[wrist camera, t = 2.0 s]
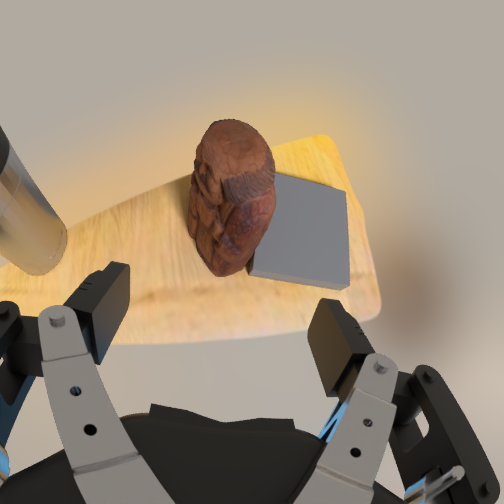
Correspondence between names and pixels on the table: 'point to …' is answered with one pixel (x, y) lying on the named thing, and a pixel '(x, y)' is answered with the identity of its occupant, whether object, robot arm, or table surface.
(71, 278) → the table surface
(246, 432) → the robot arm
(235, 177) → the wooden figurine
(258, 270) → the base
